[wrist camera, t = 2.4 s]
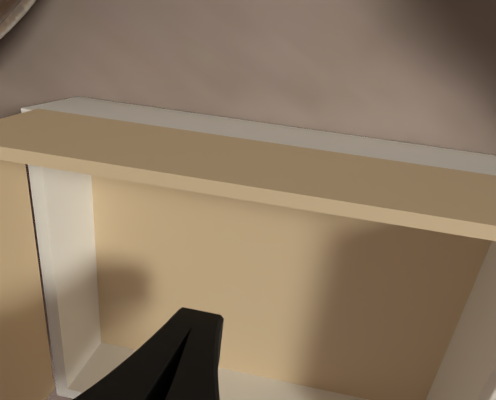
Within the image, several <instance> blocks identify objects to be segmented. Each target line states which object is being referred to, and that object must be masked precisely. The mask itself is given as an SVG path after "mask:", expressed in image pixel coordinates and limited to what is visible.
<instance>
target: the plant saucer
mask: <svg viewBox="0 0 496 400" xmlns="http://www.w3.org/2000/svg"><path fill="white" fill-rule="evenodd" d="M36 1H37V0H0V39H1V38H2V37H4V36H5V35H6V34H7V33H8V32H9V31H10V30H11V29H12V28H13V27H14V26H15V25H16V24H17V23H18V22H19V20H20V19H21V18H22V17H23V16H24V15H25V14H26V13H27V12H28V10H29V9H30V8H31V7H32V6H33V5H34V4H35V2H36Z"/></svg>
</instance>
